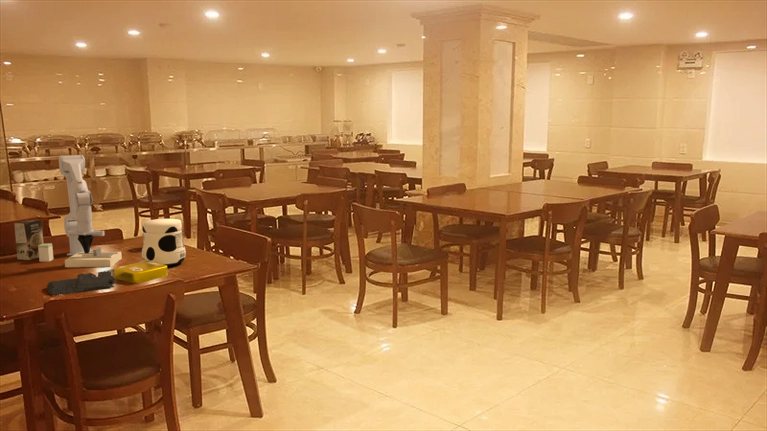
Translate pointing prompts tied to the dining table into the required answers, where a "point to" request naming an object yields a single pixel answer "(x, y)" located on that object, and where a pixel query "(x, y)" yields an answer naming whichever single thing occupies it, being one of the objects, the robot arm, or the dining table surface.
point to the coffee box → (28, 238)
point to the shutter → (98, 253)
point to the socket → (92, 260)
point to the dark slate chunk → (82, 283)
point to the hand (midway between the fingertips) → (87, 252)
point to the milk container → (163, 241)
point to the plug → (45, 252)
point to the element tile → (140, 272)
